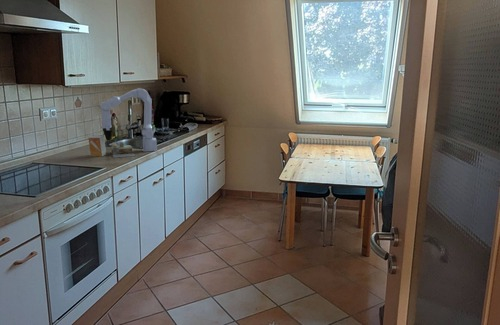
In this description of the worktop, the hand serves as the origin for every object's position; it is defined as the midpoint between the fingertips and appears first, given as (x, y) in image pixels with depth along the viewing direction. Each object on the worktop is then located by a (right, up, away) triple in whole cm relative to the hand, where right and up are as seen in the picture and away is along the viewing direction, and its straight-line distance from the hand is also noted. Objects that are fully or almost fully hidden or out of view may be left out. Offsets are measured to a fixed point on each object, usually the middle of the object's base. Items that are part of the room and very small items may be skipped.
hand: (108, 139), depth 279 cm
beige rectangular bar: (+4, -5, +3) cm, 7 cm away
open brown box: (+8, -9, +6) cm, 13 cm away
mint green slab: (+8, -6, +5) cm, 11 cm away
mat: (+12, -11, -3) cm, 17 cm away
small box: (-5, -11, -3) cm, 12 cm away
